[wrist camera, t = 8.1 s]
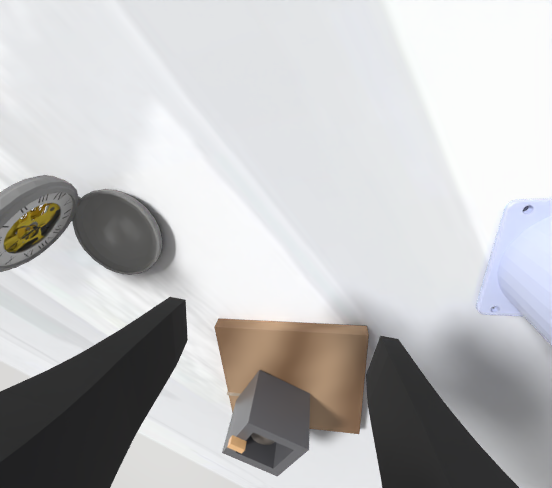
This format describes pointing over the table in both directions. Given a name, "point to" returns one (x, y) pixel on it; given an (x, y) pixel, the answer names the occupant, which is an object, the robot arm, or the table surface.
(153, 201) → the table surface
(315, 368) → the board
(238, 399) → the grey hollow cube
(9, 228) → the pocket watch
